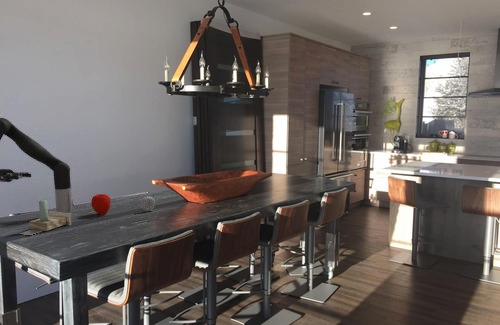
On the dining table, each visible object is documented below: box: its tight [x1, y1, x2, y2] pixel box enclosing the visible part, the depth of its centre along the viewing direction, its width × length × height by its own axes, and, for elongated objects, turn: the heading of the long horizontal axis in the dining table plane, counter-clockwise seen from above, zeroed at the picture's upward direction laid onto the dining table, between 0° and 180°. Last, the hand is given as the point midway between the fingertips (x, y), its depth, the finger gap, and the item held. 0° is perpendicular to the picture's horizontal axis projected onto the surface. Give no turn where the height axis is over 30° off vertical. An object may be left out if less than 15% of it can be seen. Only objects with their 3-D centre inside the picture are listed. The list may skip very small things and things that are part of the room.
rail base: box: [18, 210, 72, 236], centre depth 224 cm, size 25×16×7 cm, turn 162°
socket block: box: [28, 216, 66, 232], centre depth 227 cm, size 14×12×4 cm
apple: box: [90, 193, 112, 216], centre depth 257 cm, size 12×12×13 cm
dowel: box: [38, 199, 49, 222], centre depth 224 cm, size 4×4×14 cm
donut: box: [140, 195, 156, 212], centre depth 265 cm, size 10×4×10 cm, turn 130°
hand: (24, 176), depth 232 cm, fingers open, 8 cm apart
